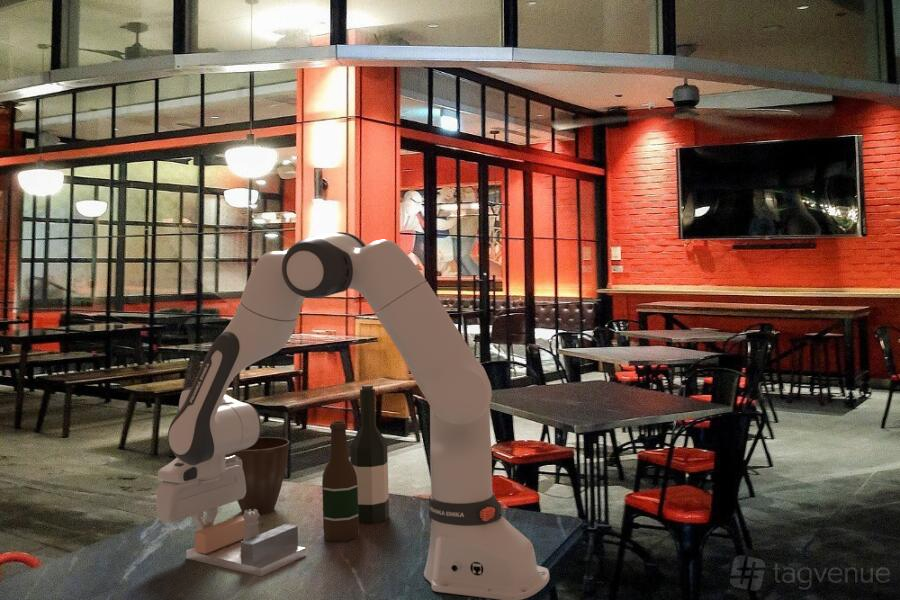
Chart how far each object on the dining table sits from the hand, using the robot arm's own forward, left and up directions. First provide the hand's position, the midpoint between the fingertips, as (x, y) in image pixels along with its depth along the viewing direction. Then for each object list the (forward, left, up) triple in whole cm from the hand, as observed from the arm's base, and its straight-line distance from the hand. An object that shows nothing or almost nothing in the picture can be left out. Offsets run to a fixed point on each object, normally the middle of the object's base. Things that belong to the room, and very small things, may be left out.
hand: (205, 531), depth 152 cm
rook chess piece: (-14, +1, -2) cm, 14 cm away
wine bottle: (-19, -31, -3) cm, 36 cm away
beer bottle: (-21, -18, -3) cm, 28 cm away
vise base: (-12, 0, -3) cm, 12 cm away
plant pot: (+9, -24, -3) cm, 26 cm away
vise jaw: (-6, 0, -1) cm, 6 cm away
